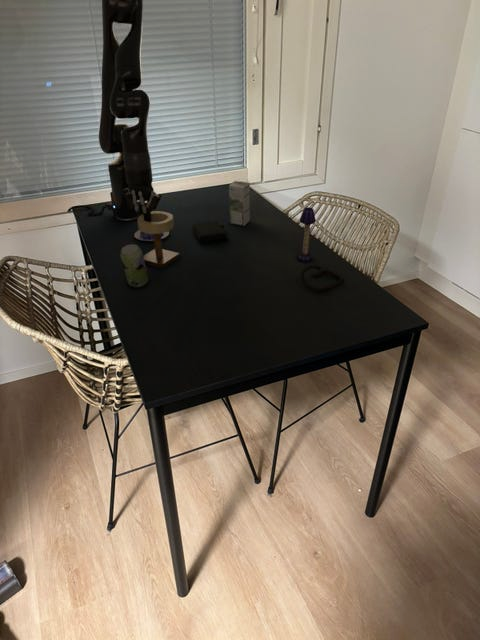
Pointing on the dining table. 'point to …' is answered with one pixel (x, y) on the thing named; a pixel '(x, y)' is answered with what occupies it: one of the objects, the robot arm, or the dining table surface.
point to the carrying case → (209, 231)
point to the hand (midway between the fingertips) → (144, 222)
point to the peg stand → (160, 254)
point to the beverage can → (134, 265)
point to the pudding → (148, 236)
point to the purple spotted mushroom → (306, 232)
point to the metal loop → (319, 275)
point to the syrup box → (239, 202)
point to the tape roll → (156, 223)
